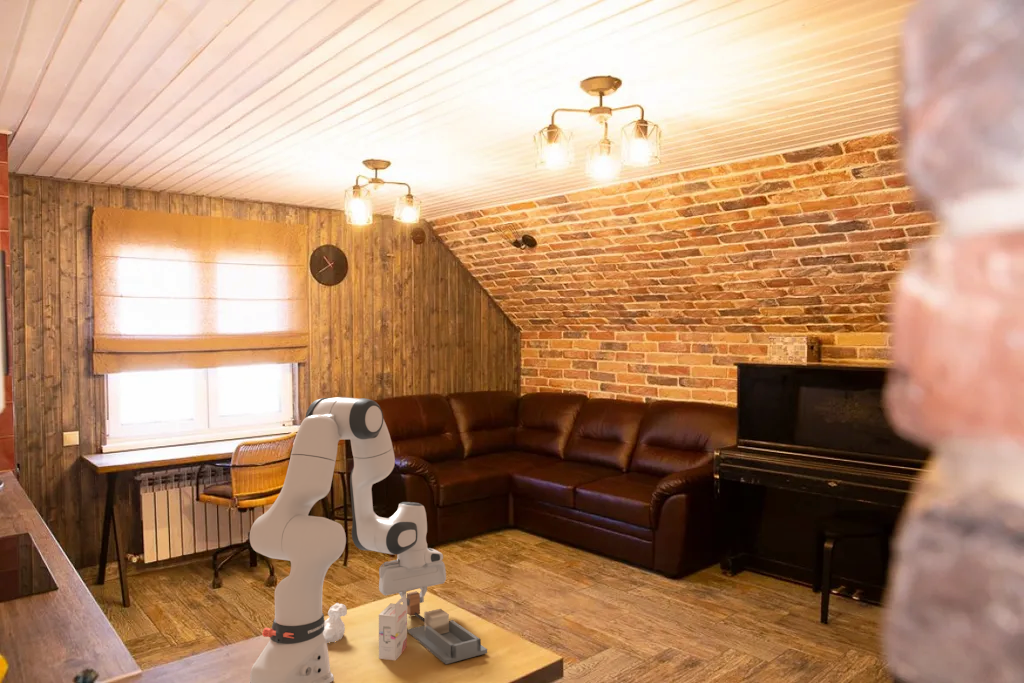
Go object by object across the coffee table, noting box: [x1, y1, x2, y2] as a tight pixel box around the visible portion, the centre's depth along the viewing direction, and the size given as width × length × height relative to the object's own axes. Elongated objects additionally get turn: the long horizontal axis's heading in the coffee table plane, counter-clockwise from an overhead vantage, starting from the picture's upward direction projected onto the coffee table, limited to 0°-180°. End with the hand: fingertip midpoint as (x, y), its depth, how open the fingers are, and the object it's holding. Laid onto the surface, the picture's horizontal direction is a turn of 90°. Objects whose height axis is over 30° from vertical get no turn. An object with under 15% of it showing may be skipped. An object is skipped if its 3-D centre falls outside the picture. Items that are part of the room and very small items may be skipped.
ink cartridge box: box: [378, 593, 408, 661], centre depth 193 cm, size 9×5×15 cm, turn 168°
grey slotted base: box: [407, 619, 488, 665], centre depth 200 cm, size 24×12×4 cm, turn 32°
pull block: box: [406, 590, 450, 634], centre depth 211 cm, size 19×5×6 cm, turn 32°
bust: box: [323, 602, 348, 644], centre depth 203 cm, size 12×8×11 cm
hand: (413, 603), depth 218 cm, fingers closed on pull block, 3 cm apart
